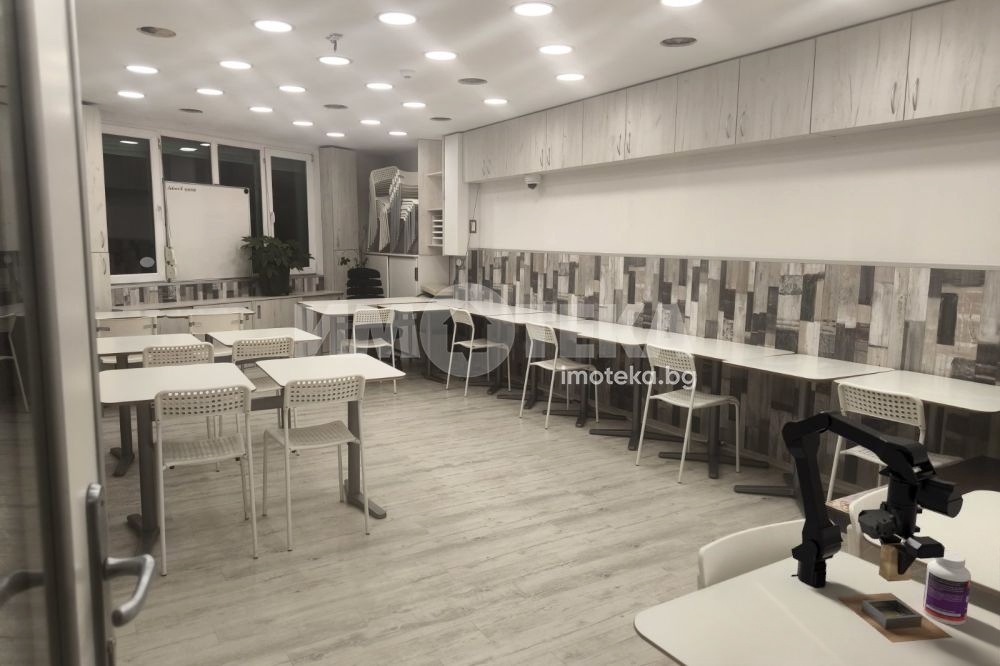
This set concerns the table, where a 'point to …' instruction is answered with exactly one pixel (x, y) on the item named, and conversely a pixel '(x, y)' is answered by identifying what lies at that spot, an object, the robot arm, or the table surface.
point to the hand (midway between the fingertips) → (895, 570)
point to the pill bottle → (947, 589)
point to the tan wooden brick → (891, 564)
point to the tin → (891, 613)
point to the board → (895, 635)
